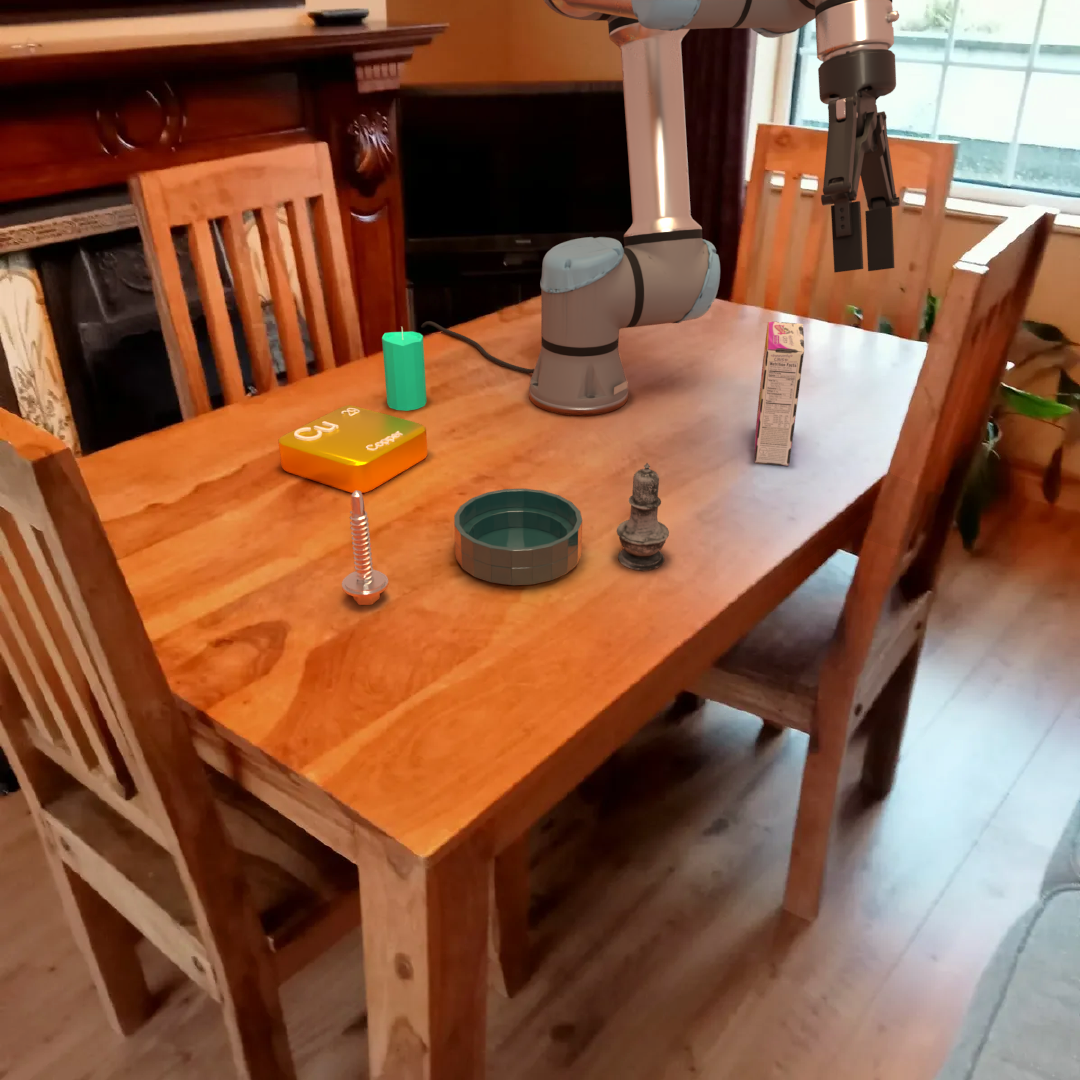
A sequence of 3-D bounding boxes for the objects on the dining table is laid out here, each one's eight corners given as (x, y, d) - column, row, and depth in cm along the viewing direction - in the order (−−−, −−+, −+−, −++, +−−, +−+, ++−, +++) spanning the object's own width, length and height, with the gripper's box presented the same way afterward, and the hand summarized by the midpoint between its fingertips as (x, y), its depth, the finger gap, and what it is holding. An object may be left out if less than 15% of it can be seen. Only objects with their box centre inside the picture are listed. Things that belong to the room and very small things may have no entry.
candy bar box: (753, 430, 146) (767, 320, 137) (789, 434, 145) (804, 322, 137) (751, 464, 136) (766, 347, 128) (789, 467, 135) (806, 350, 127)
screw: (377, 581, 110) (397, 602, 107) (336, 594, 108) (354, 616, 105) (368, 475, 104) (388, 493, 100) (324, 486, 102) (343, 505, 98)
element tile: (361, 497, 127) (358, 463, 125) (275, 469, 134) (270, 436, 132) (433, 454, 138) (432, 422, 136) (350, 430, 145) (347, 399, 143)
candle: (379, 407, 153) (373, 330, 147) (399, 393, 158) (393, 318, 152) (415, 413, 151) (410, 335, 145) (433, 398, 156) (429, 323, 150)
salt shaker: (632, 576, 111) (638, 479, 105) (605, 552, 116) (609, 457, 110) (677, 564, 114) (685, 468, 108) (648, 540, 118) (655, 447, 112)
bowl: (430, 566, 113) (428, 527, 111) (501, 514, 124) (500, 478, 121) (538, 603, 107) (538, 563, 104) (602, 546, 117) (604, 508, 115)
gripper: (862, 23, 91) (873, 266, 95) (919, 67, 111) (926, 264, 116) (780, 44, 95) (794, 276, 99) (851, 82, 115) (860, 273, 120)
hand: (865, 270), depth 107 cm, fingers open, 13 cm apart
